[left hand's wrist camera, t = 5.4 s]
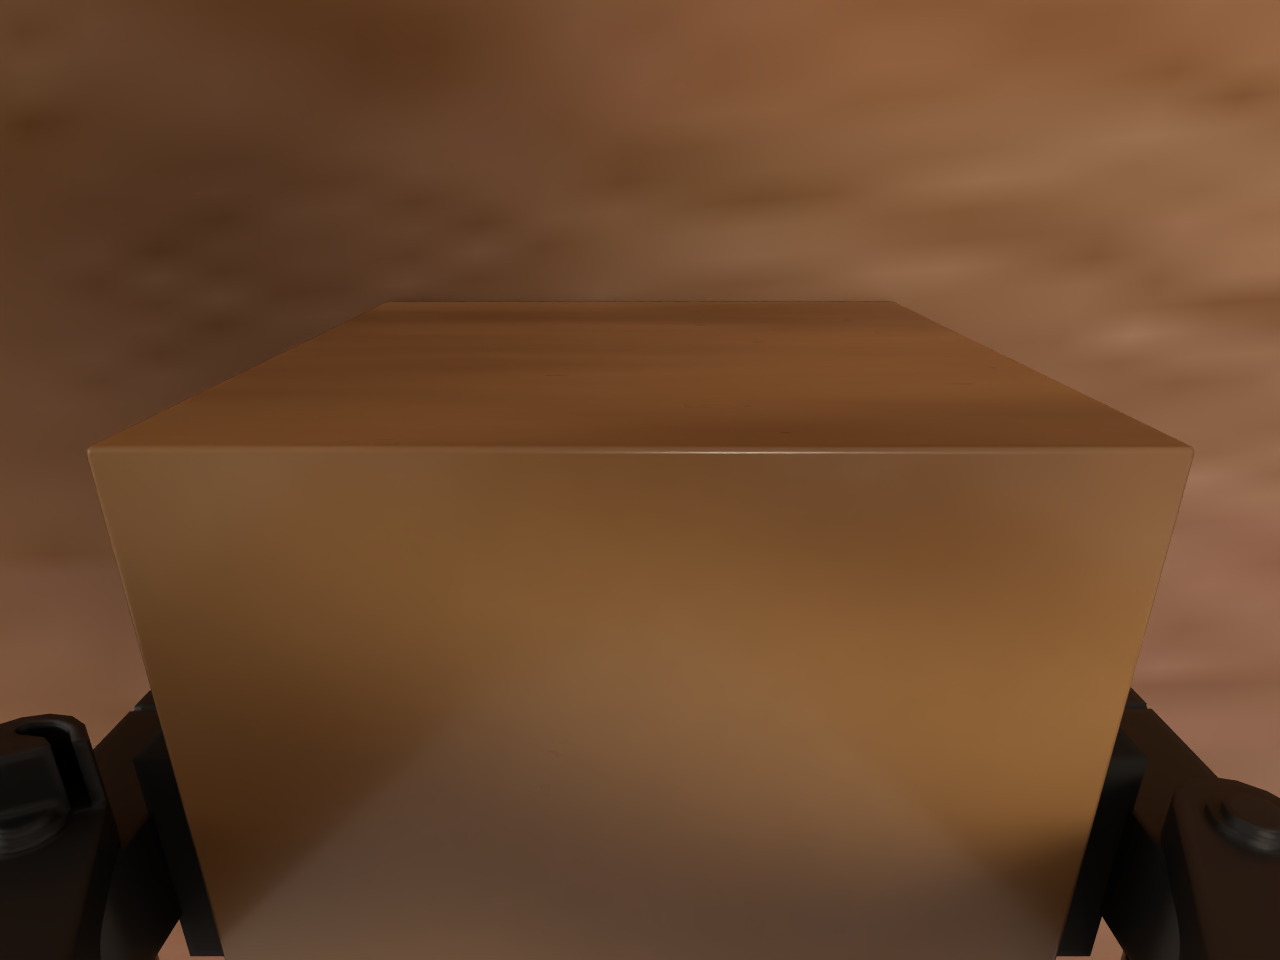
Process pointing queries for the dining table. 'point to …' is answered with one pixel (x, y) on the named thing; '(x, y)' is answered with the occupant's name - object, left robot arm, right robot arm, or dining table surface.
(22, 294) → the dining table surface
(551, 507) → the thick board
